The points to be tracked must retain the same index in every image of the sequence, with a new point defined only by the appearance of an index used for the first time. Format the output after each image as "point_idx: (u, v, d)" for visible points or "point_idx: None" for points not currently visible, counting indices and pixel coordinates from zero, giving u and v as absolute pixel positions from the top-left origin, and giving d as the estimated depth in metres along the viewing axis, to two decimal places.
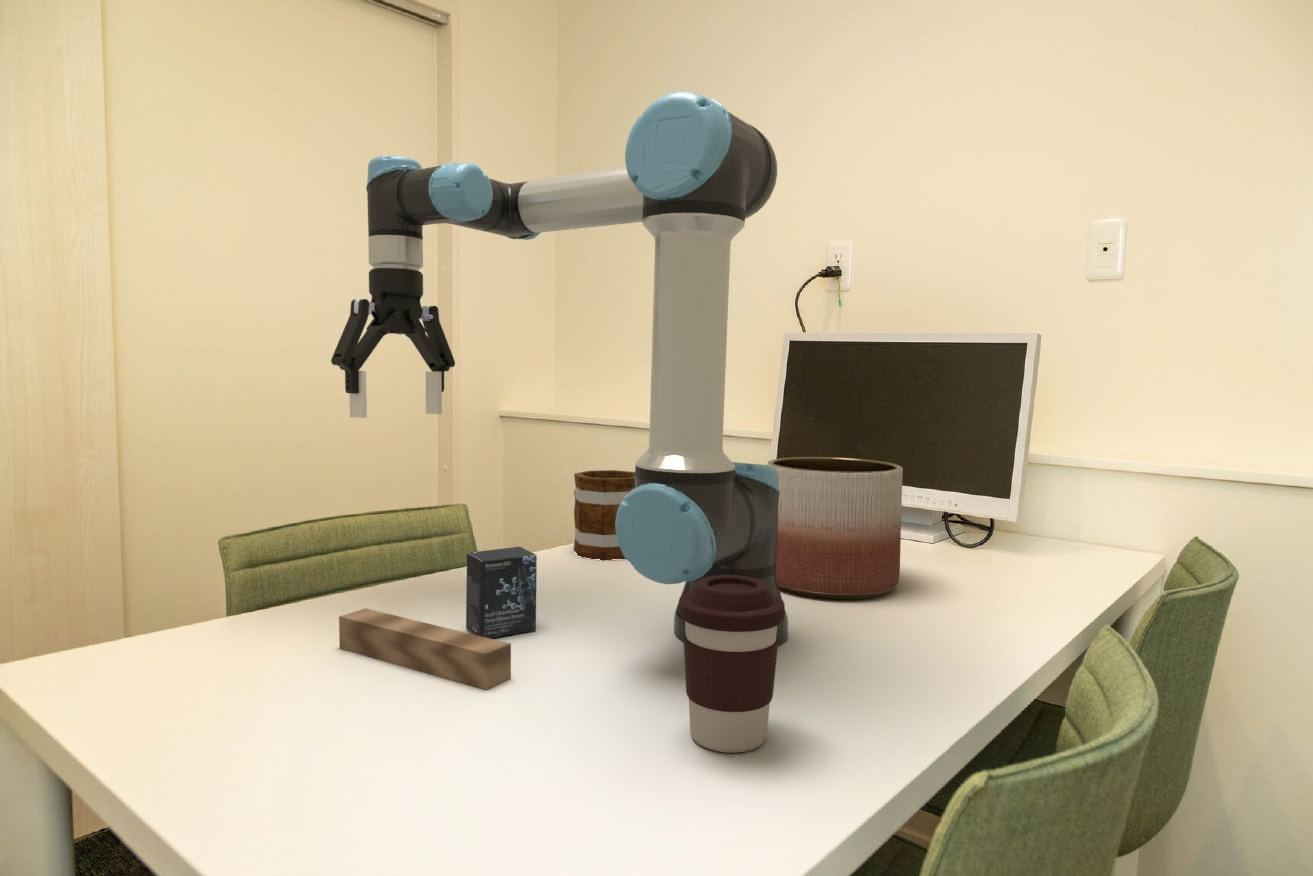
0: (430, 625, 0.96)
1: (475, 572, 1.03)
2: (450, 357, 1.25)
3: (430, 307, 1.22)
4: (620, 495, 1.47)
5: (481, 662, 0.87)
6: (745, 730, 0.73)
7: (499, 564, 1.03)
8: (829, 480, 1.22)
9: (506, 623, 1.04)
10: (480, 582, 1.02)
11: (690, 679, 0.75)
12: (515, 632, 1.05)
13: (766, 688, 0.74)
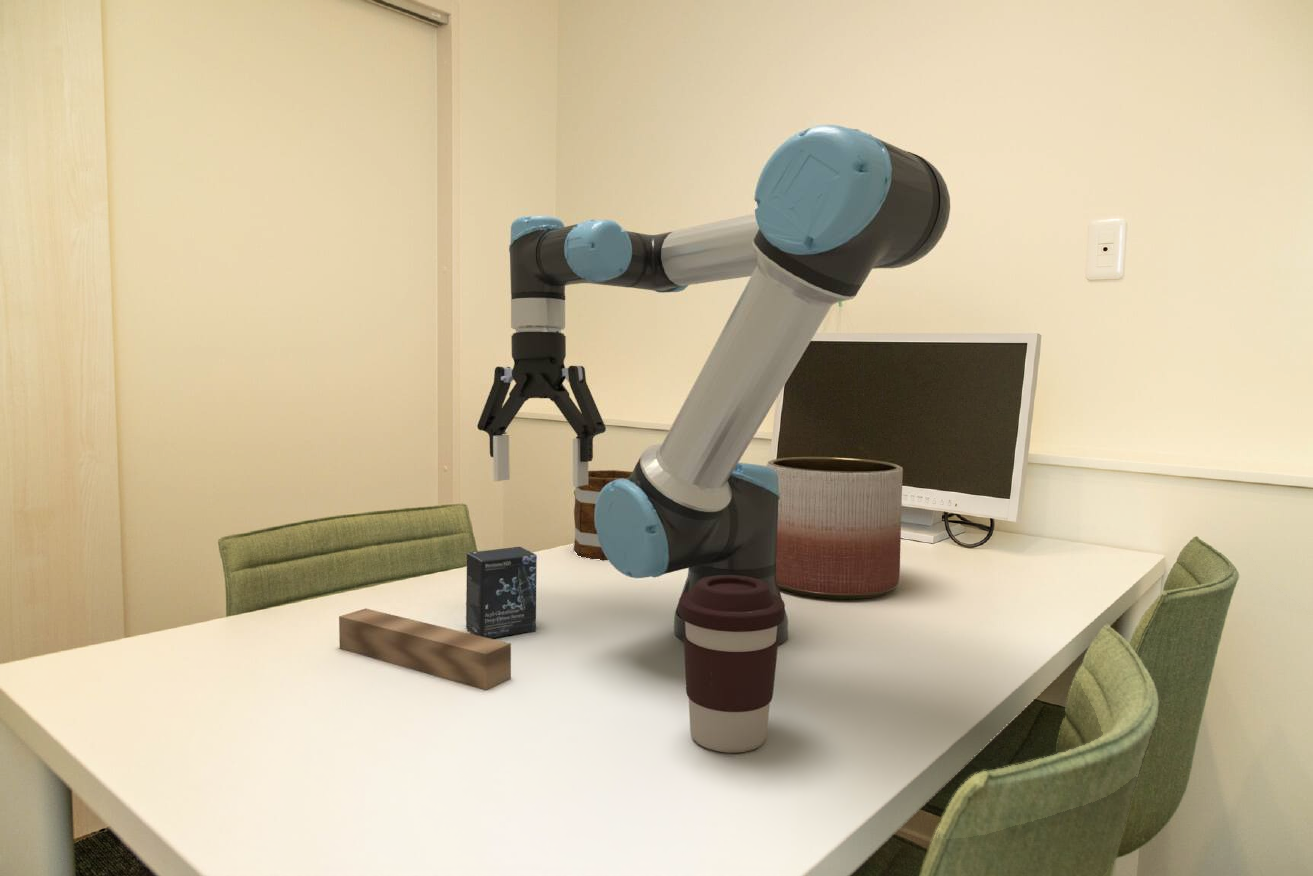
0: (430, 625, 0.96)
1: (475, 572, 1.03)
2: (589, 423, 1.08)
3: None
4: None
5: (481, 662, 0.87)
6: (745, 730, 0.73)
7: (499, 564, 1.03)
8: (829, 480, 1.22)
9: (506, 623, 1.04)
10: (480, 582, 1.02)
11: (690, 679, 0.75)
12: (515, 632, 1.05)
13: (766, 688, 0.74)
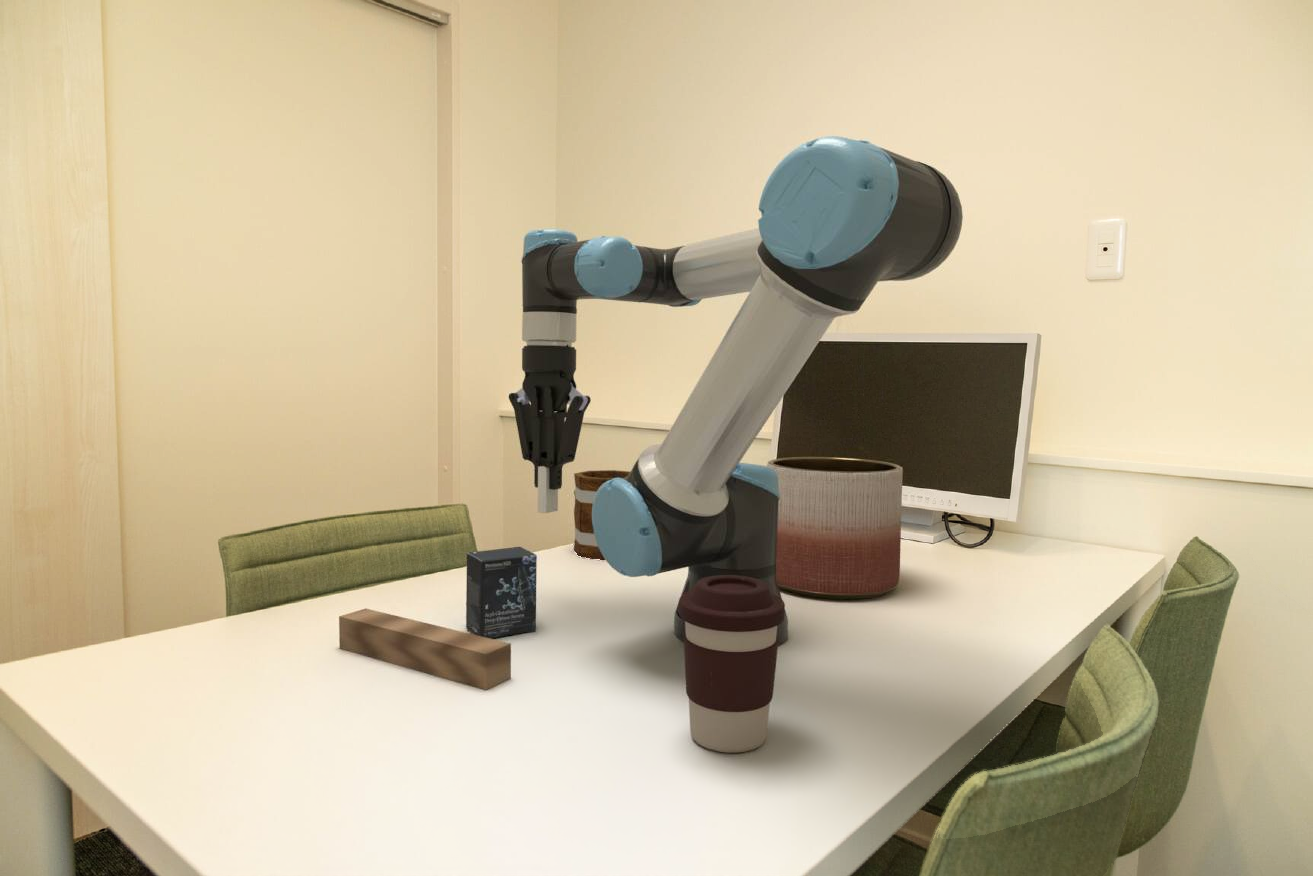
0: (430, 625, 0.96)
1: (475, 572, 1.03)
2: (561, 452, 1.11)
3: (578, 396, 1.10)
4: None
5: (481, 662, 0.87)
6: (745, 730, 0.73)
7: (499, 564, 1.03)
8: (829, 480, 1.22)
9: (506, 623, 1.04)
10: (480, 582, 1.02)
11: (690, 679, 0.75)
12: (515, 632, 1.05)
13: (766, 688, 0.74)
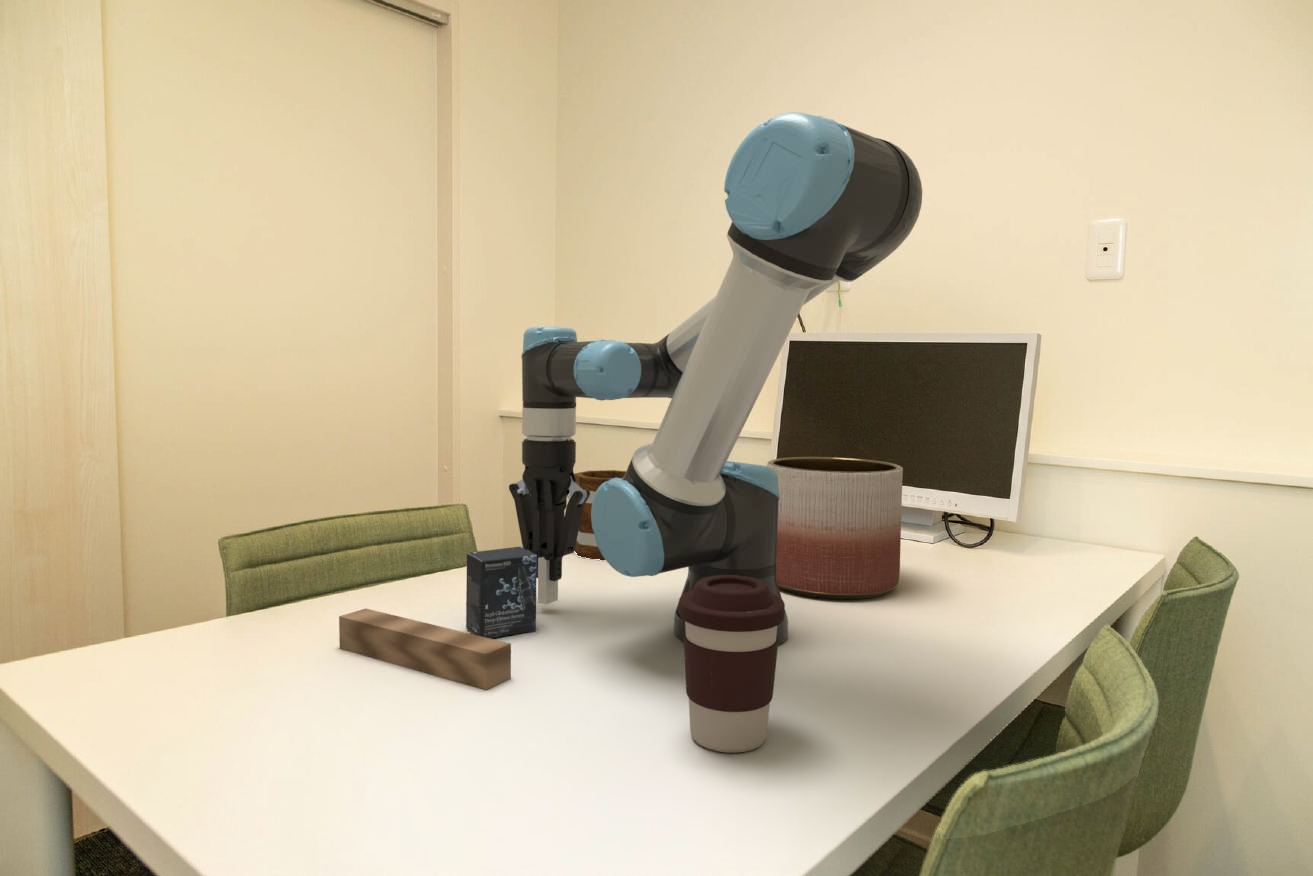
0: (430, 625, 0.96)
1: (475, 572, 1.03)
2: (561, 546, 1.12)
3: (578, 491, 1.11)
4: None
5: (481, 662, 0.87)
6: (745, 730, 0.73)
7: (499, 564, 1.03)
8: (829, 480, 1.22)
9: (506, 623, 1.04)
10: (480, 582, 1.02)
11: (690, 679, 0.75)
12: (515, 632, 1.05)
13: (766, 688, 0.74)
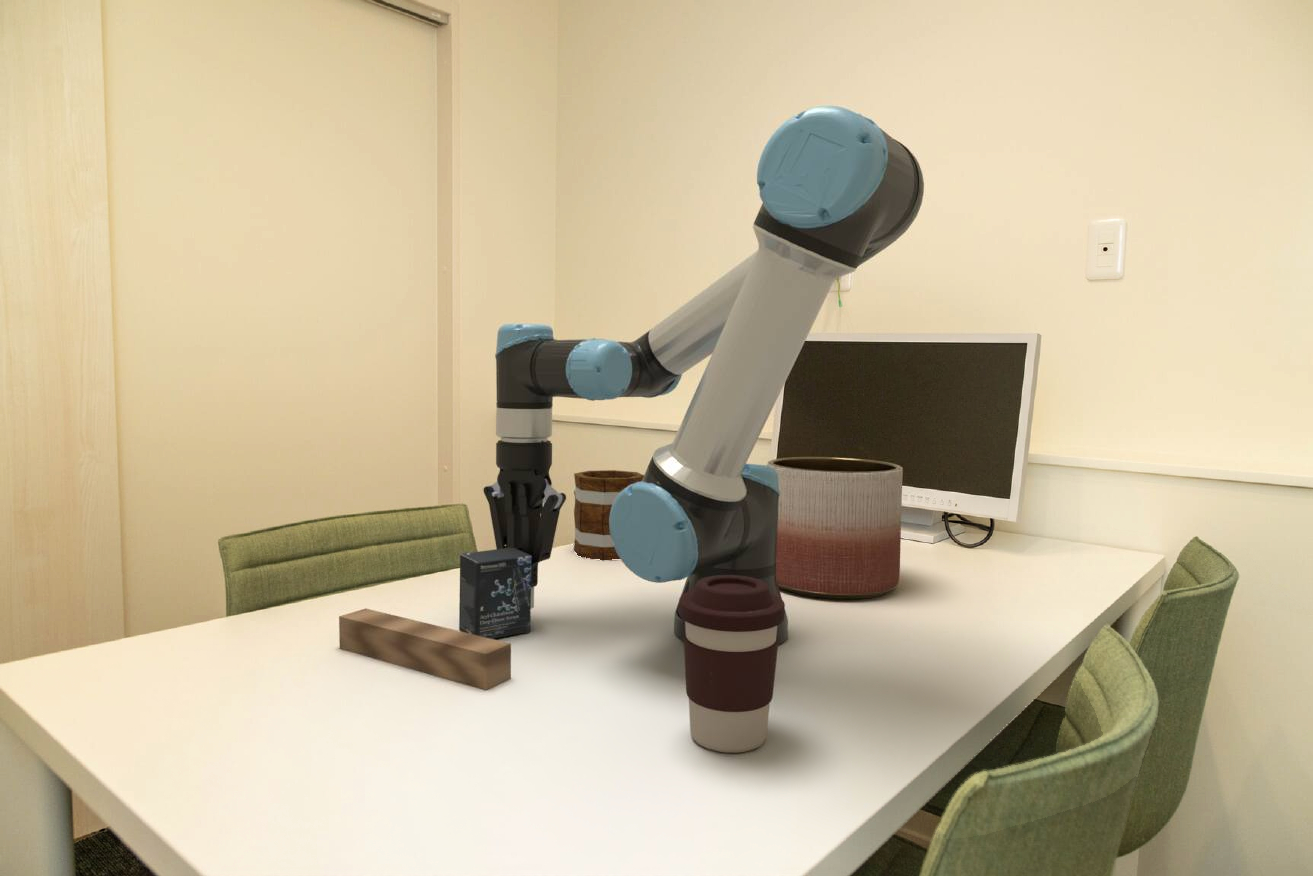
0: (430, 625, 0.96)
1: (470, 573, 1.02)
2: (536, 551, 1.08)
3: (553, 494, 1.06)
4: None
5: (481, 662, 0.87)
6: (745, 730, 0.73)
7: (495, 566, 1.02)
8: (829, 480, 1.22)
9: (501, 624, 1.03)
10: (475, 584, 1.01)
11: (690, 679, 0.75)
12: (510, 633, 1.04)
13: (766, 688, 0.74)
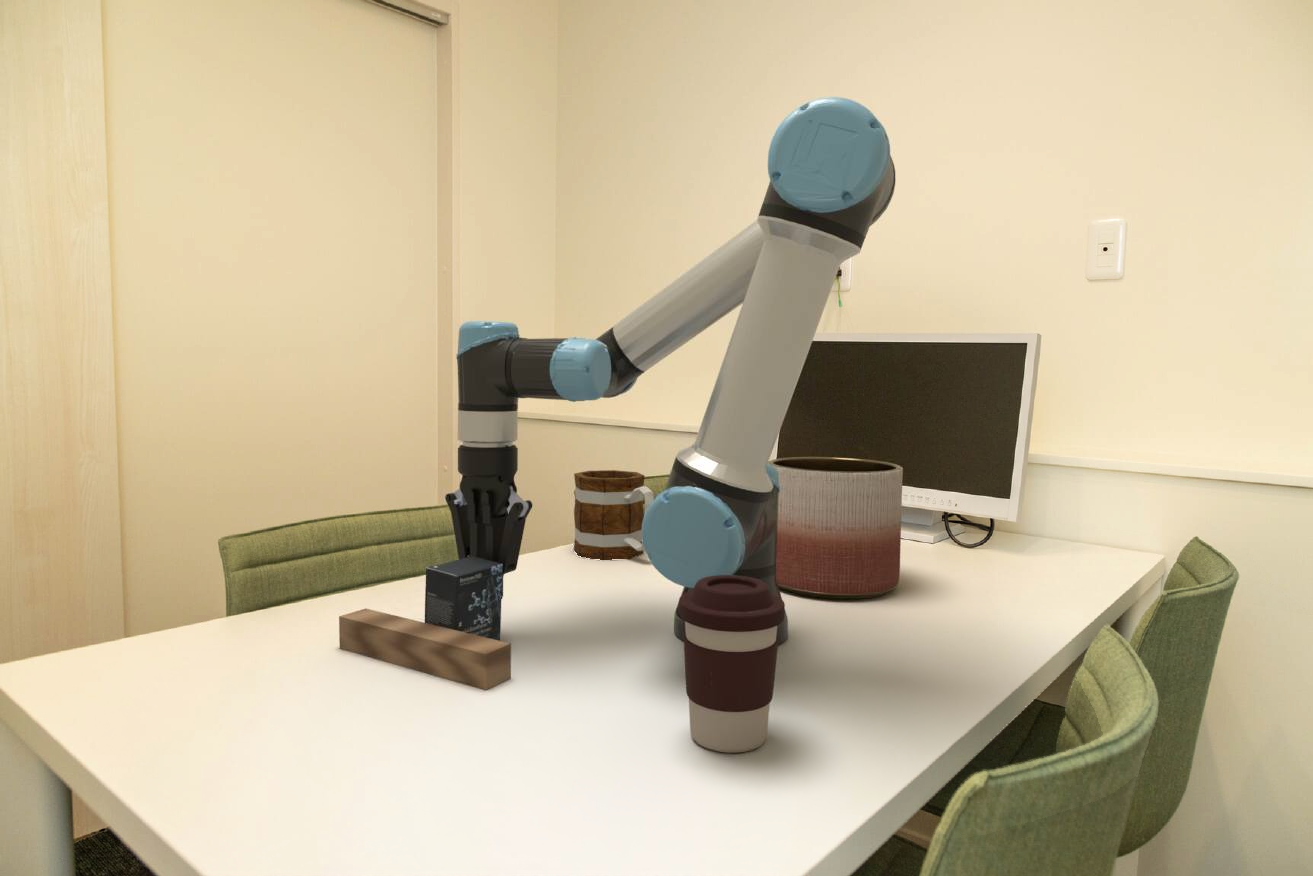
0: (430, 625, 0.96)
1: (444, 588, 0.95)
2: (501, 563, 1.01)
3: (518, 502, 1.00)
4: (620, 495, 1.47)
5: (481, 662, 0.87)
6: (745, 730, 0.73)
7: (472, 578, 0.96)
8: (829, 480, 1.22)
9: None
10: (453, 599, 0.95)
11: (690, 679, 0.75)
12: None
13: (766, 688, 0.74)
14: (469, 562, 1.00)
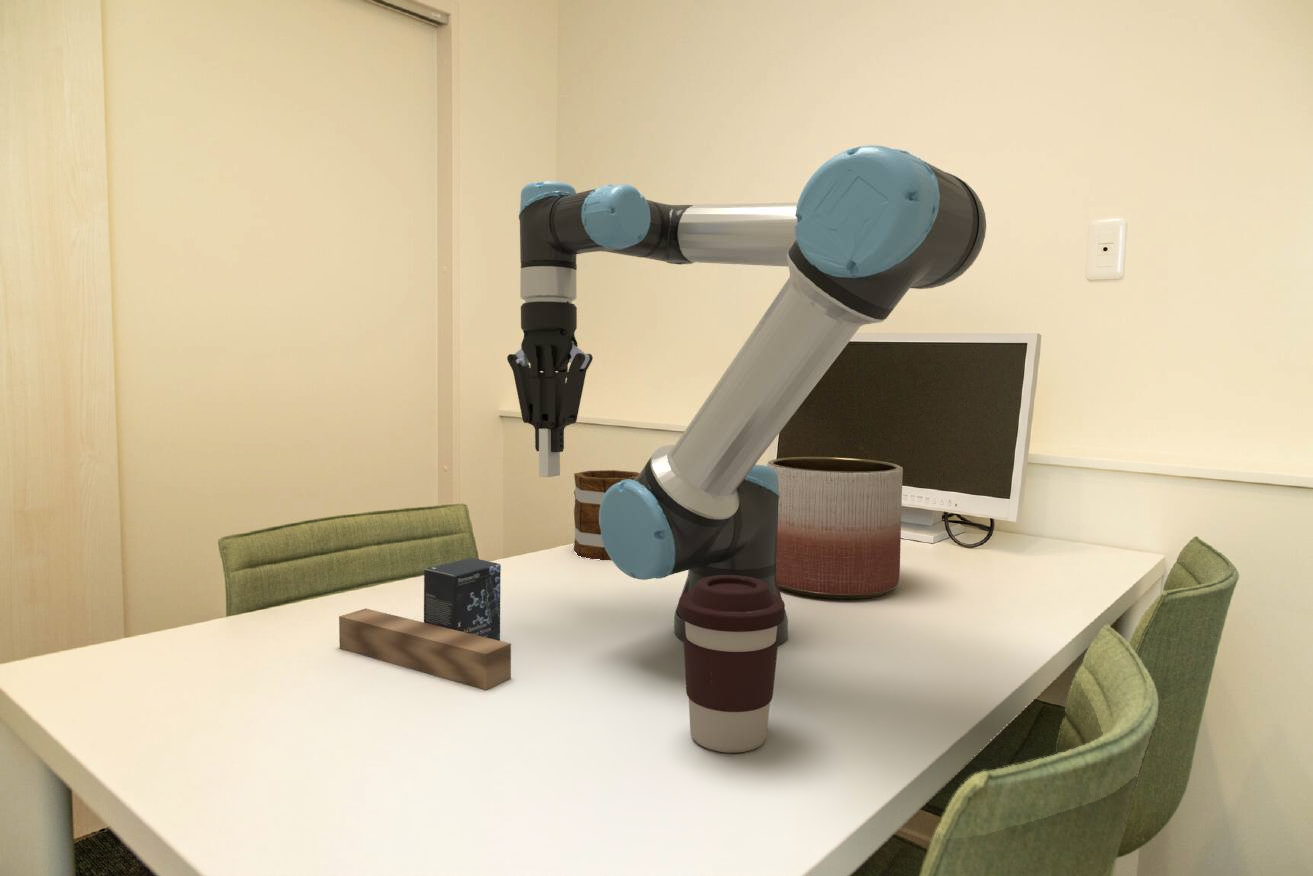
0: (430, 625, 0.96)
1: (442, 588, 0.95)
2: (563, 413, 1.07)
3: None
4: None
5: (481, 662, 0.87)
6: (745, 730, 0.73)
7: (470, 578, 0.96)
8: (829, 480, 1.22)
9: None
10: (452, 599, 0.95)
11: (690, 679, 0.75)
12: None
13: (766, 688, 0.74)
14: (467, 563, 1.00)
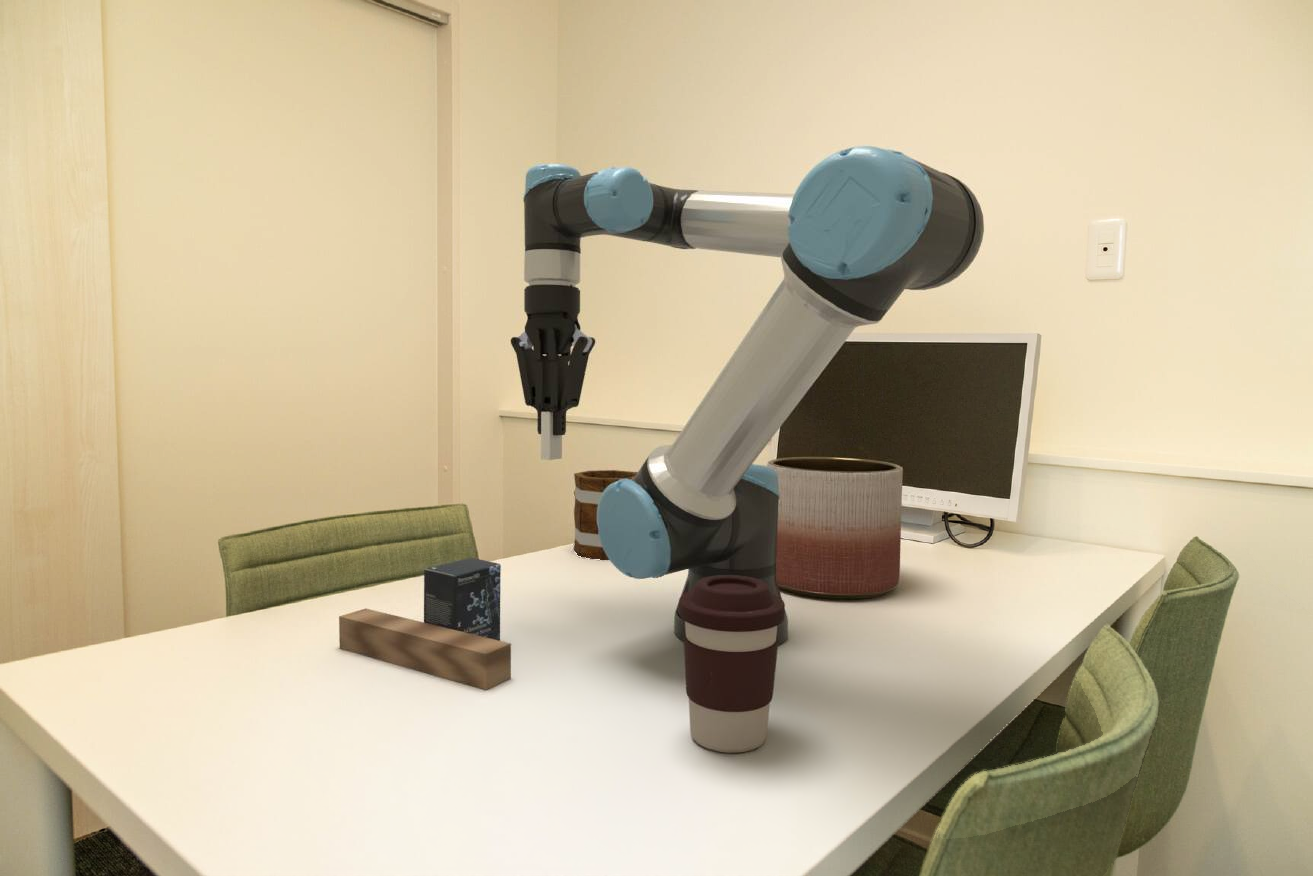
0: (430, 625, 0.96)
1: (442, 588, 0.95)
2: (566, 396, 1.07)
3: (582, 337, 1.06)
4: None
5: (481, 662, 0.87)
6: (745, 730, 0.73)
7: (470, 578, 0.96)
8: (829, 480, 1.22)
9: None
10: (452, 599, 0.95)
11: (690, 679, 0.75)
12: None
13: (766, 688, 0.74)
14: (467, 563, 1.00)
